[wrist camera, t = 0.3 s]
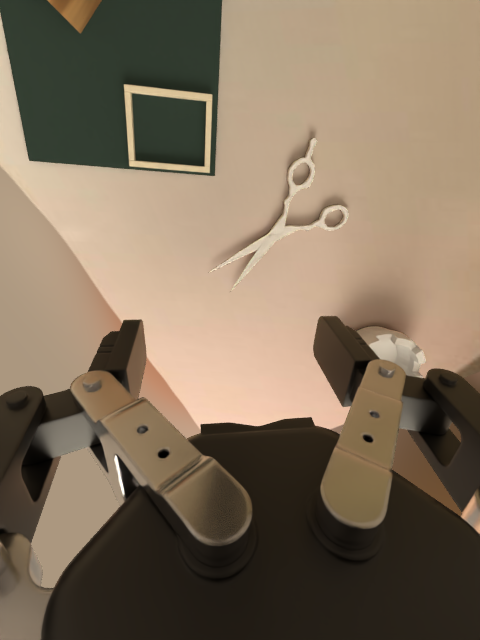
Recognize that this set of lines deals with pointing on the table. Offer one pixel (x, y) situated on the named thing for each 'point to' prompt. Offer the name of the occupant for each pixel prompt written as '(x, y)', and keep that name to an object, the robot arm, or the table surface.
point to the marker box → (76, 11)
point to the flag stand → (394, 348)
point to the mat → (118, 83)
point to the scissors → (279, 227)
